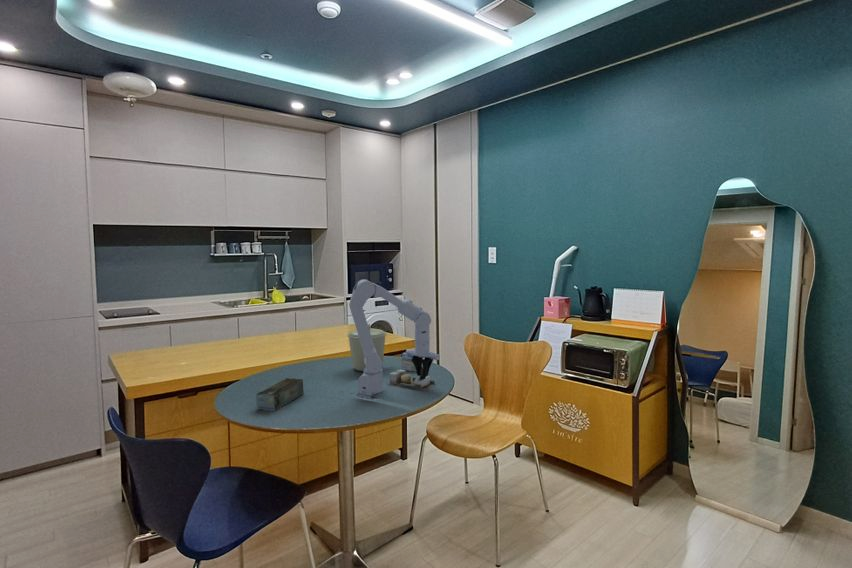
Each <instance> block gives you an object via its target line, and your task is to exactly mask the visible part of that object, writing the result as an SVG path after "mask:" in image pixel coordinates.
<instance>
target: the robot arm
mask: <svg viewBox="0 0 852 568" xmlns="http://www.w3.org/2000/svg"><path fill="white" fill-rule="evenodd" d="M352 288H353V289H352V292H351V297H350V299H349V303H348V305H349V309H350V313H351V316H352V319H353V320H352V321H353V323H354V325H355V330H357V332H358V336H359V339H360V342H361V345H362V348H363V353H364V364H365V365H366V367H365V369H364V371H363V373H362V374H361V375H360V376H359V377H358V379H357V390H358V394H356V397H361V398H364V399H368V400H374V399H376V397H375V396H373V395H375V394H379V393H382V392H383V391H384V384H383V383H384V381H383V380H384V377H383V376H384V375H383V373H384V372H383V365H384V361H383V362H382V360H381V359H380V358H379V355H378V354H377V352H376V349H375V347H374V343H373V340H372V337H371V334H370V330H369V327H368V324H369V323H368V321H367V318H366V315H365V311H364V305H365V304H366V303H367V301H368V300H369V299H370V298H371V297H373V298H381V299H383V300H385V301H387V302H388V303H390V304H391V305H393V306H395V307H396V308H397V312H398V313H399V314H401V315H402V316H404V317H405V318H407V319H408V320H410V321H411V322H412V321H413V323H415V324H414V350H410V349H408V350H405V352H406V356H413V358H412V359H411V361H412V362H413V364H414V366H415V369H416V375H417V376H419V377H420V370H419V368H420V367H423V375H424V377H426V376H429V372H430V370H431V369H430V368H431V365H432V364H433V362H434V361H439V360H440V359H441V358H440V354H438V353H434V352H431V351H430V349H431V348H430V339H431V337H430V325H431V323H432V319H431V318H432V317H431V316H430V314H429V313H428V312H426V311H425V310H424V309H423V308H422V307H418V306H417V305H415V304H414V303H413V300H411V299H409V300H408V299H403V300H401V299H400V298H399V297H398V296H396V295H395V294H393V293H391V292H390V291H389V290H387V289H386V288H384V287H382V286H381V285H378V284H376V283H374V282H371V281H369V279H365V278H364V279H359V280H358V281H357V282H356V284H355V285H354V287H352Z"/></svg>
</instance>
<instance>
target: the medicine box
mask: <svg viewBox="0 0 852 568" xmlns="http://www.w3.org/2000/svg"><path fill="white" fill-rule="evenodd" d="M412 358H413V356H406V351H405V352H403V353H401V370H406V371H410V372H416V369H415V366H414V364H413V362H412V361H411V359H412ZM416 373H417V372H416Z"/></svg>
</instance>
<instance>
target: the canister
mask: <svg viewBox="0 0 852 568" xmlns="http://www.w3.org/2000/svg"><path fill="white" fill-rule="evenodd" d="M367 324H368V327H369V330H370V334H371V337H372V340H373V343H374V347H375V349H376V352H377V354H378V355H379V358H380V359H381V360H382V362H383V363H384V354H385V345H386V344H385V343H386V336H387V334H388V333H387V332H386V331H384V330H382V329H379V328H373V327H372V326H371V324H369V323H367ZM346 336H347V337H348V342H349V347H350V356H351V362H352V366H353V368H354V369H355V371H358V372H364V369H365V367H366V365H365V364H364V353H363V348H362V345H361V342H360V339H359V336H358V332H357V329H354V330H351V331H350V332H348V333H347V335H346Z"/></svg>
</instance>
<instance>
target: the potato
mask: <svg viewBox="0 0 852 568" xmlns="http://www.w3.org/2000/svg"><path fill="white" fill-rule="evenodd" d="M411 380H412V375H411V374H410V373H409V374H407V373H406V374H404V375H401V383H404V384H411Z"/></svg>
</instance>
